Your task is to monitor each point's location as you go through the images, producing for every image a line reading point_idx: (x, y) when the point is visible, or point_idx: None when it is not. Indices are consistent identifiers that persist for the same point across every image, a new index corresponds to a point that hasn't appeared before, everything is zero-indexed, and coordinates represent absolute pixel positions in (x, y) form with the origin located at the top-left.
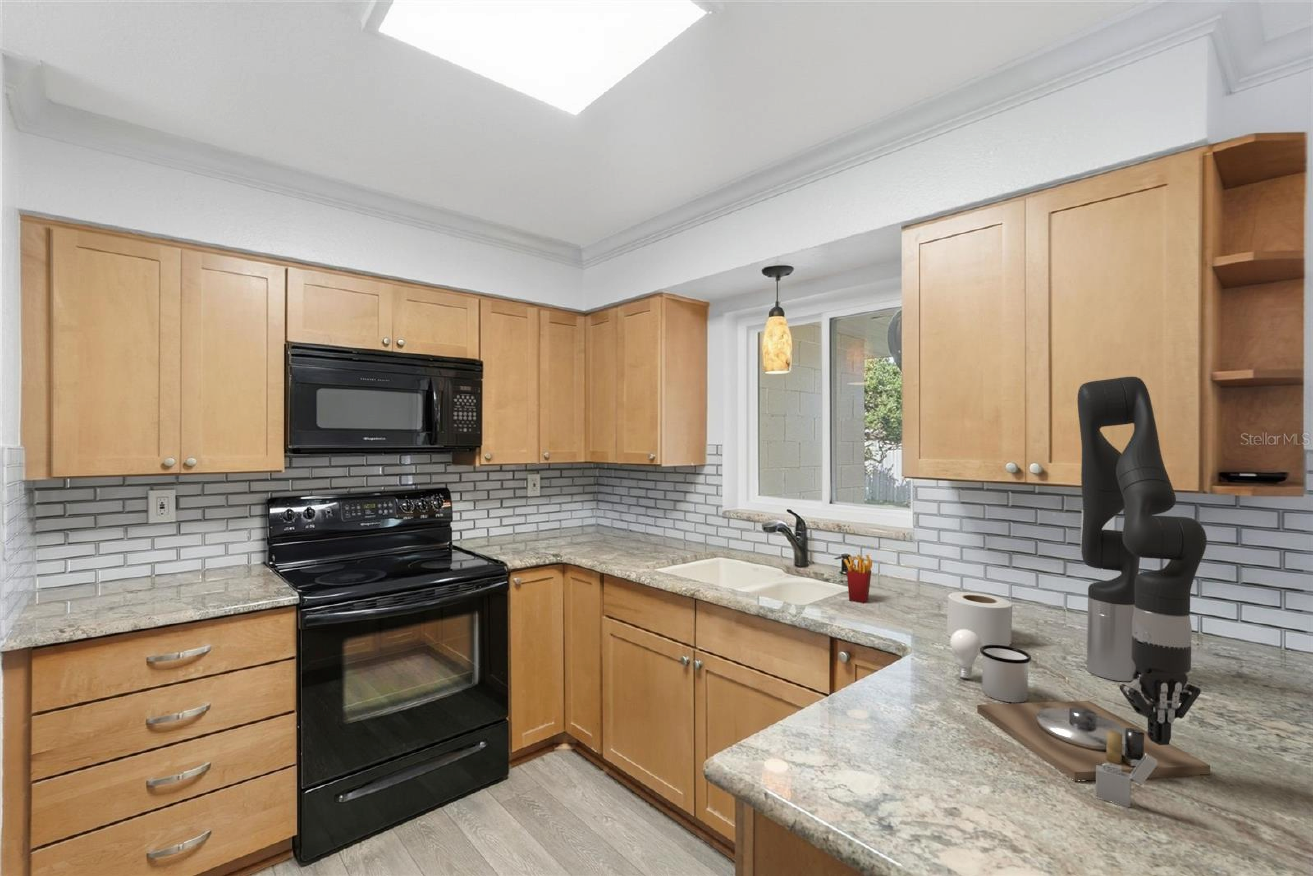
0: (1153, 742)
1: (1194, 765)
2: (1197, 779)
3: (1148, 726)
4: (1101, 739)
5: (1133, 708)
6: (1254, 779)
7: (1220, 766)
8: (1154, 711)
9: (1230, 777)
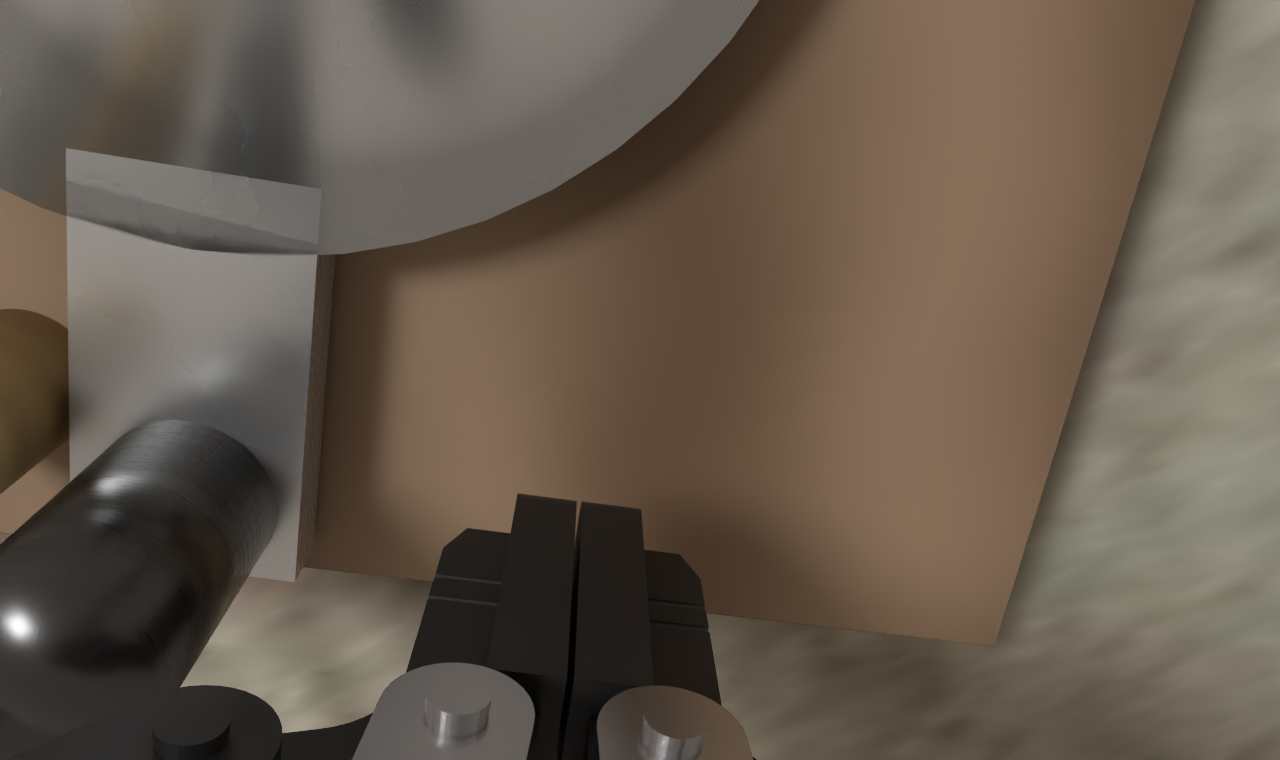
0: (968, 147)
1: (838, 616)
2: (760, 622)
3: (422, 631)
4: (125, 70)
5: (44, 742)
6: (1249, 715)
7: (1245, 514)
8: (593, 756)
9: (1091, 656)
